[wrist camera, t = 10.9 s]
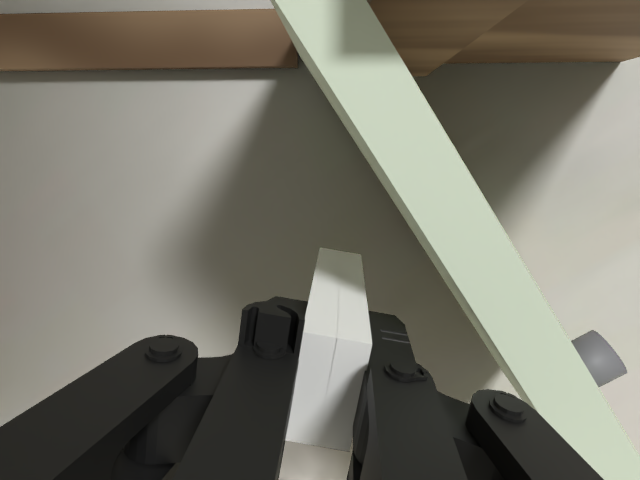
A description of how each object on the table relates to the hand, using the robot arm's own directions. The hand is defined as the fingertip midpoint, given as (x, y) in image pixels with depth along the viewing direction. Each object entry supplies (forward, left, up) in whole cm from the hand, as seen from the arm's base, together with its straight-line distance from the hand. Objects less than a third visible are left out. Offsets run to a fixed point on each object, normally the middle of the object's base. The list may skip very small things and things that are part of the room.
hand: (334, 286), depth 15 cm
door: (-3, +4, -4) cm, 7 cm away
